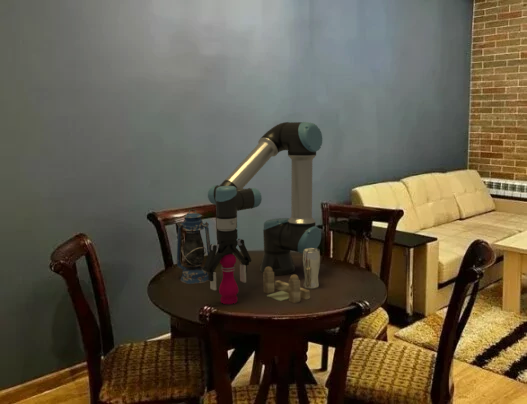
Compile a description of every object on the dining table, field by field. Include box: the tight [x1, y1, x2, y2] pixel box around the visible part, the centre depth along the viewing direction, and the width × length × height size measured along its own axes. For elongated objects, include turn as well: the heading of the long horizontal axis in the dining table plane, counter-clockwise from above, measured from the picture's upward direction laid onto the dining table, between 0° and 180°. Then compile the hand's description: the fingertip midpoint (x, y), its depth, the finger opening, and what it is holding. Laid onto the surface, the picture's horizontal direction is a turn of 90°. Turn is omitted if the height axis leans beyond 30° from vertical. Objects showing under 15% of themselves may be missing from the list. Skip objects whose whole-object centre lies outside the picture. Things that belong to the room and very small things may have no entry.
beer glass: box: [301, 247, 321, 290], centre depth 219 cm, size 7×7×15 cm
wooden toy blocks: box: [262, 266, 311, 304], centre depth 208 cm, size 18×10×10 cm, turn 40°
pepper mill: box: [218, 254, 240, 305], centre depth 202 cm, size 7×7×20 cm
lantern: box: [176, 208, 211, 285], centre depth 229 cm, size 15×12×30 cm
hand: (228, 285), depth 203 cm, fingers open, 13 cm apart
